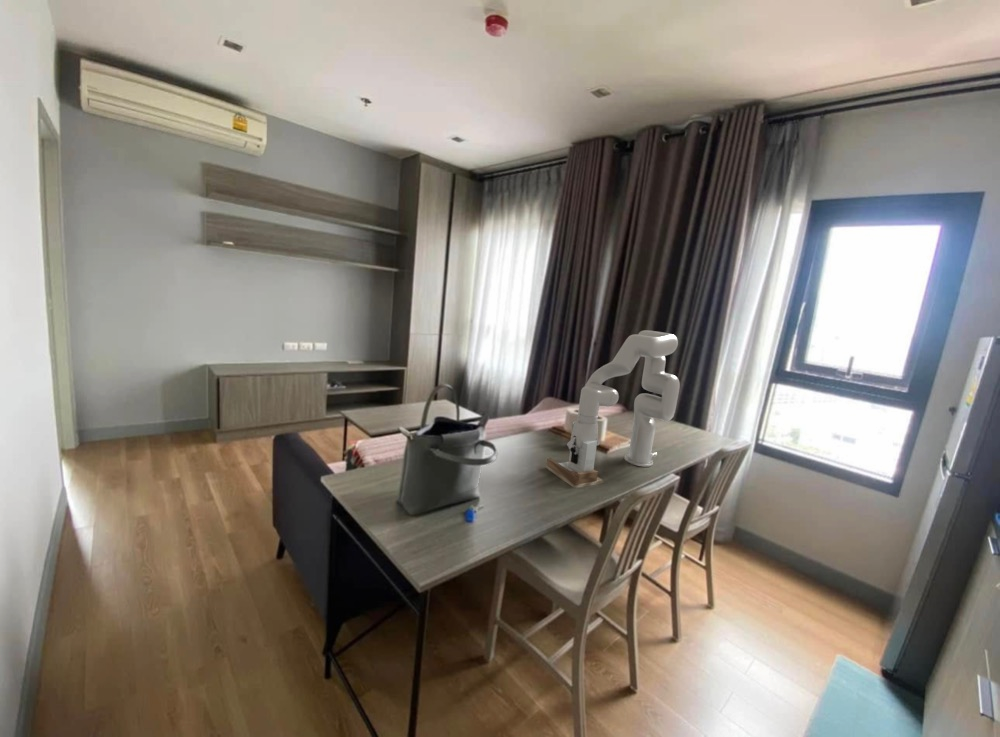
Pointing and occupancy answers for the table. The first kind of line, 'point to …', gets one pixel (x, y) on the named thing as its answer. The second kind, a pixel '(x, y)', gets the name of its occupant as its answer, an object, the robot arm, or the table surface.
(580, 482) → the wooden tray
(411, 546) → the table surface
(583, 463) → the small box
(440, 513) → the table surface
